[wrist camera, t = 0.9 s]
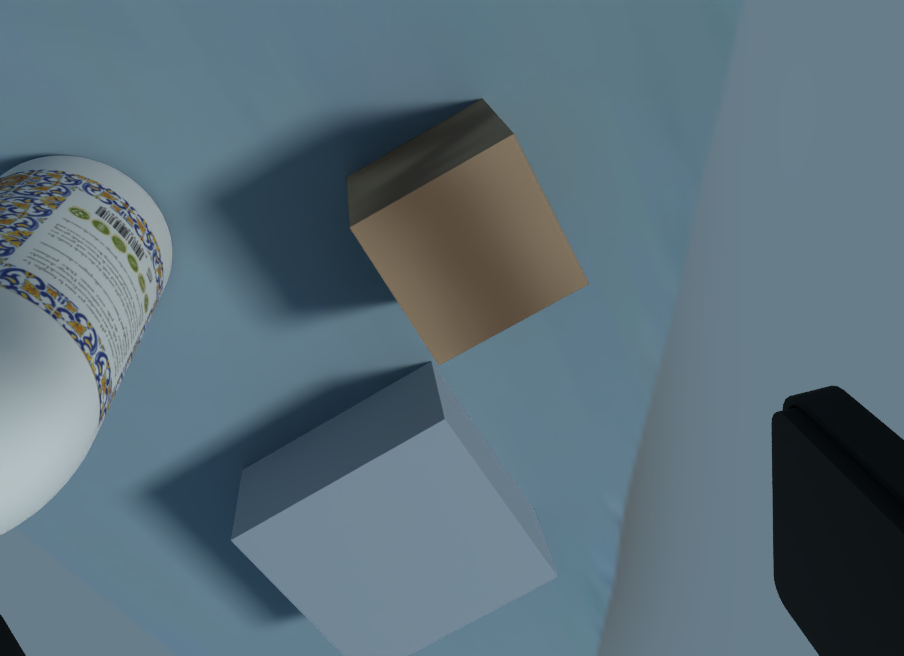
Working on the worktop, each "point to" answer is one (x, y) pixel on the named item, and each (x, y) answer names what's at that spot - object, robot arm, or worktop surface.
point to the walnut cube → (462, 232)
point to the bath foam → (68, 314)
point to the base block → (392, 522)
